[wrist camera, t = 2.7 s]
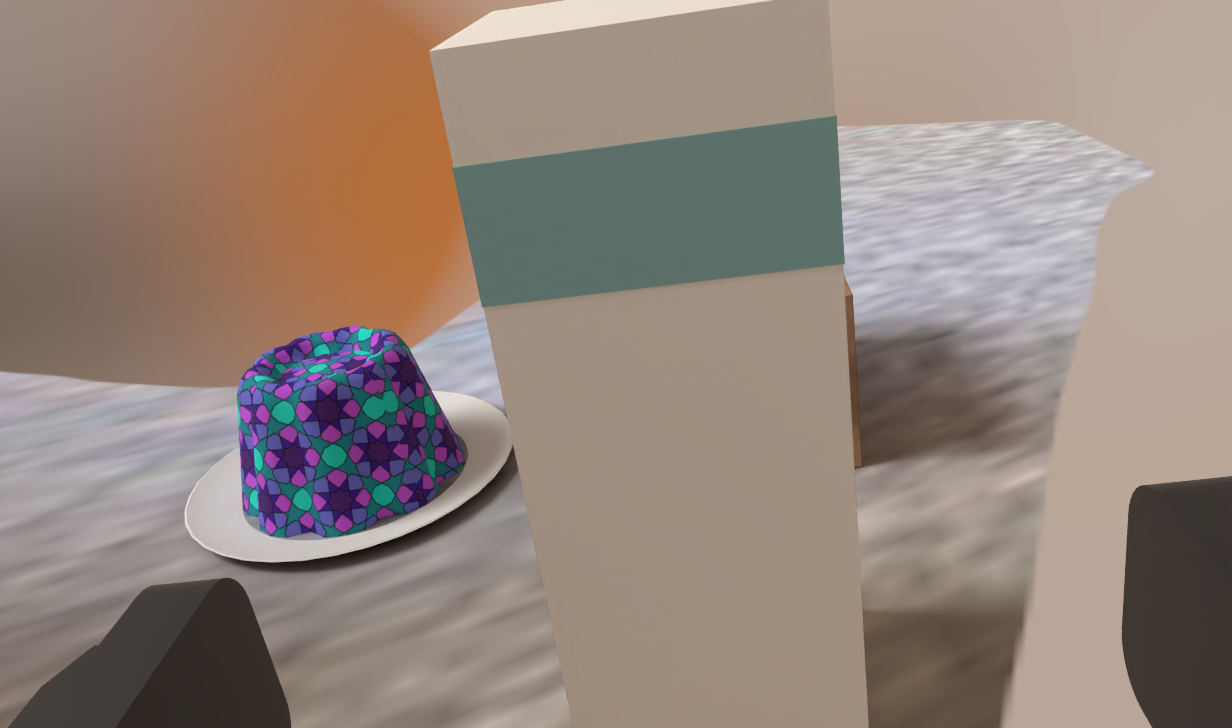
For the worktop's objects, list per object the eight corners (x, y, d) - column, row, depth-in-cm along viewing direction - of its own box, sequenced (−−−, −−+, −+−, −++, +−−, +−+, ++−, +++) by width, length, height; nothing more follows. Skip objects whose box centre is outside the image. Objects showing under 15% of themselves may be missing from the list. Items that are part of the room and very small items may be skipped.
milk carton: (590, 811, 22) (427, 51, 15) (606, 628, 27) (491, 11, 21) (873, 792, 21) (829, -9, 15) (831, 609, 27) (786, -34, 20)
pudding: (307, 628, 30) (256, 476, 28) (133, 516, 38) (83, 391, 35) (583, 447, 37) (560, 316, 35) (391, 385, 45) (363, 276, 43)
